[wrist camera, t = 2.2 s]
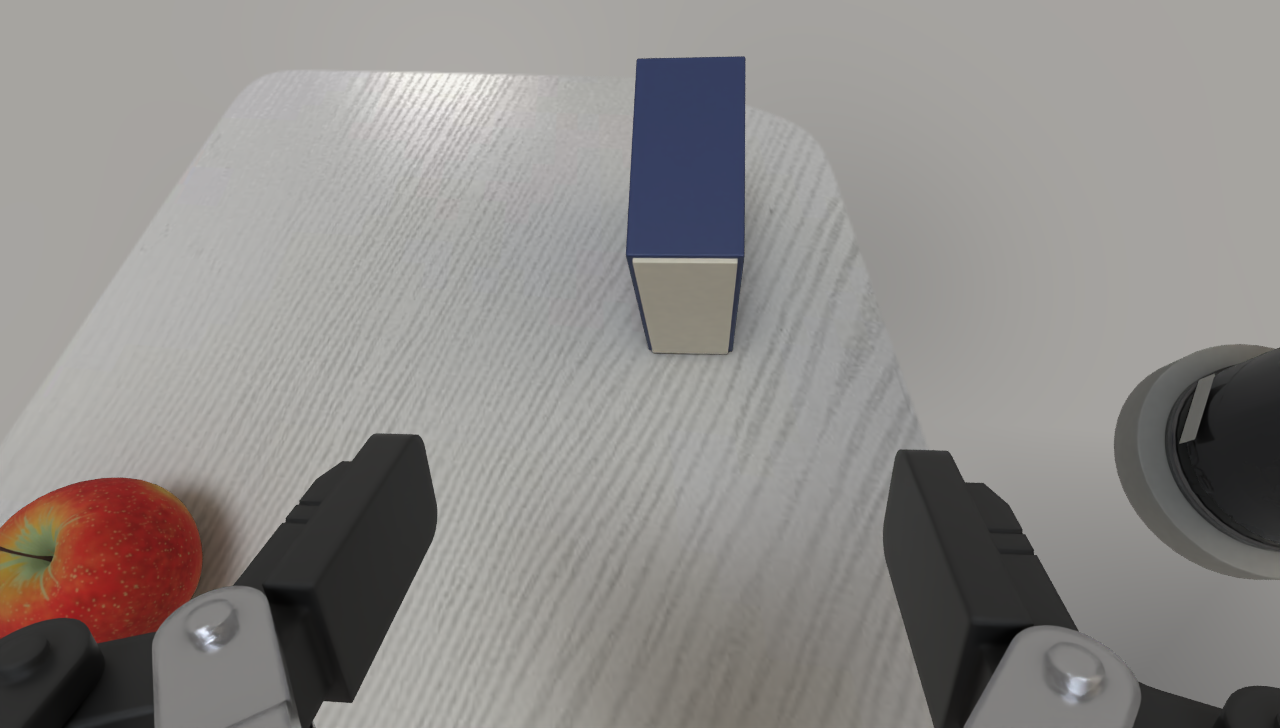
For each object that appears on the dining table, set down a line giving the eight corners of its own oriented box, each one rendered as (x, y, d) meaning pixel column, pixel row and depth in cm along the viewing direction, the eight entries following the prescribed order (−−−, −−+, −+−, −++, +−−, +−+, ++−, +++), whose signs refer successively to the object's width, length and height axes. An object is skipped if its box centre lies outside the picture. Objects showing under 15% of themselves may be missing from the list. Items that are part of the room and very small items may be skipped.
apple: (109, 678, 36) (-102, 714, 27) (82, 528, 39) (-121, 512, 29) (258, 612, 37) (103, 624, 27) (222, 467, 39) (67, 431, 30)
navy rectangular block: (733, 201, 41) (745, 55, 30) (732, 355, 39) (744, 261, 27) (655, 201, 42) (636, 57, 30) (648, 353, 39) (625, 260, 28)
